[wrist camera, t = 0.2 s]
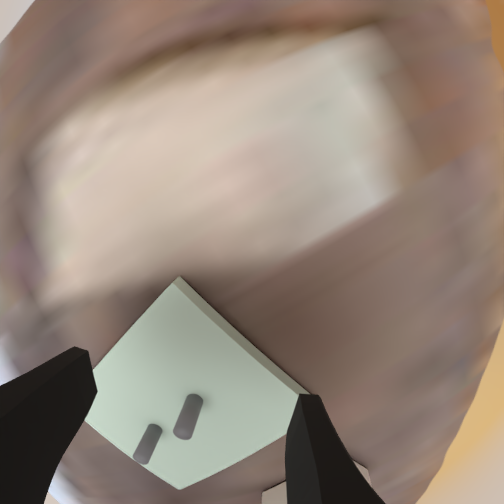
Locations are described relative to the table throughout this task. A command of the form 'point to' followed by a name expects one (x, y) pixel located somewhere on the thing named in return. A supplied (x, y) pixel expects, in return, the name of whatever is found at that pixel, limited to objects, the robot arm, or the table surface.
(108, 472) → the table surface
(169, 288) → the pin plate
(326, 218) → the table surface
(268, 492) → the beige hollow block
